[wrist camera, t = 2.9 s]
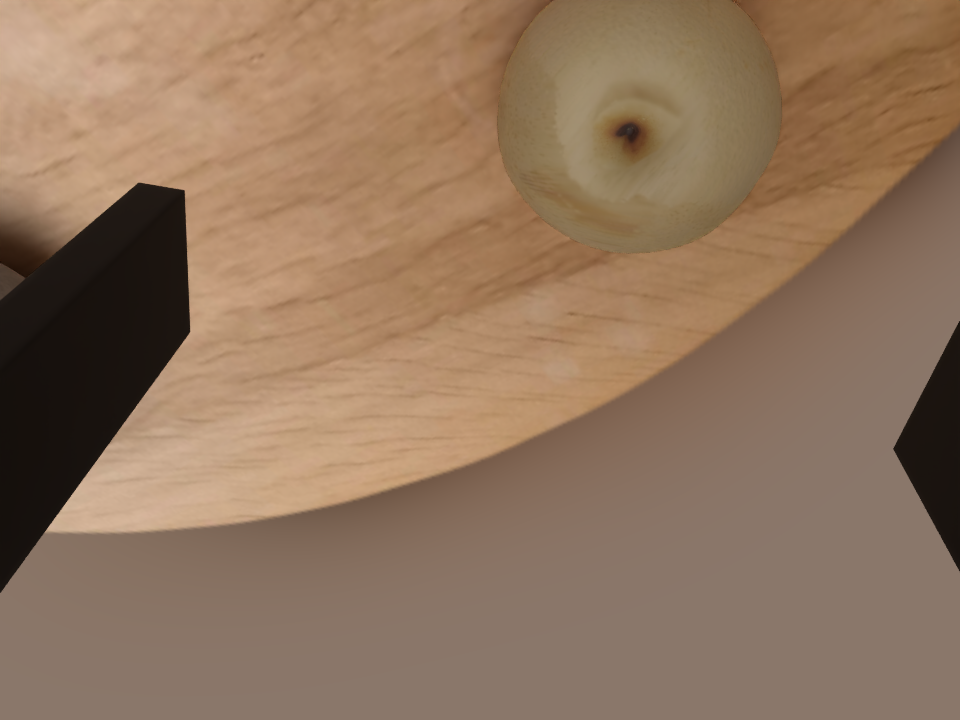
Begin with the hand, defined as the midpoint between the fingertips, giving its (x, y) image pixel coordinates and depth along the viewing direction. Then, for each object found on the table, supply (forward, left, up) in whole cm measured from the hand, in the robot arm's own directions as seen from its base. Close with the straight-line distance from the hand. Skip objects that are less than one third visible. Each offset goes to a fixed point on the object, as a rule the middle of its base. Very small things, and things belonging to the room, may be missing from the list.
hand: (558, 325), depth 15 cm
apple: (-2, -1, -16) cm, 16 cm away
